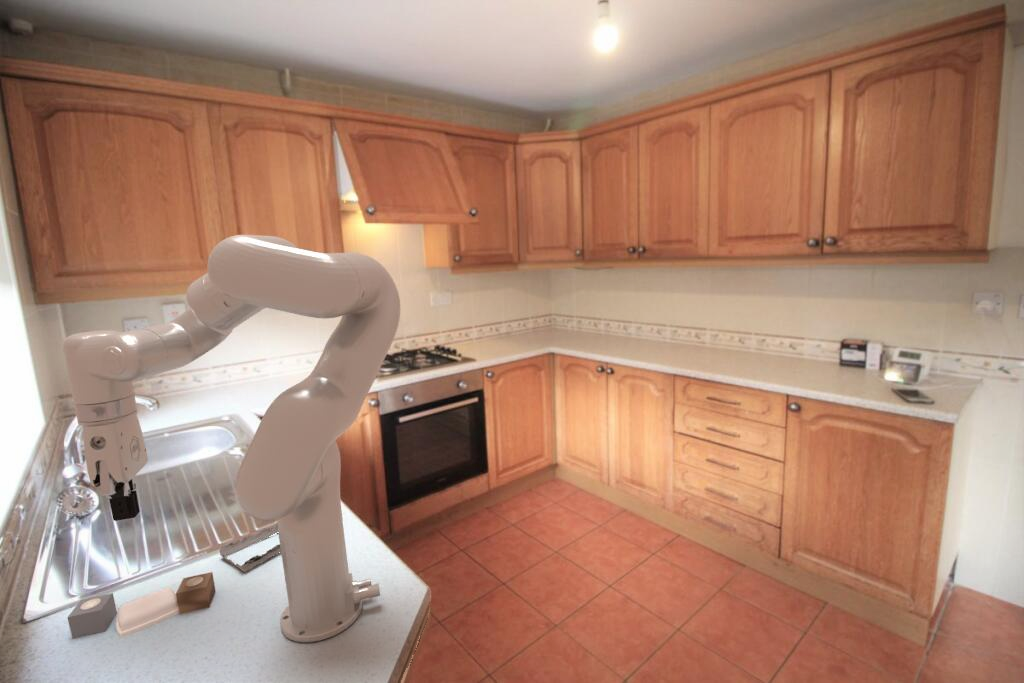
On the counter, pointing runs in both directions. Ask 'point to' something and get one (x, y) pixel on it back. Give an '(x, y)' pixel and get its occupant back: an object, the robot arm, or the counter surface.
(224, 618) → the counter surface
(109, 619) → the slate grey block
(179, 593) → the walnut block
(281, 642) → the counter surface
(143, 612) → the soap
